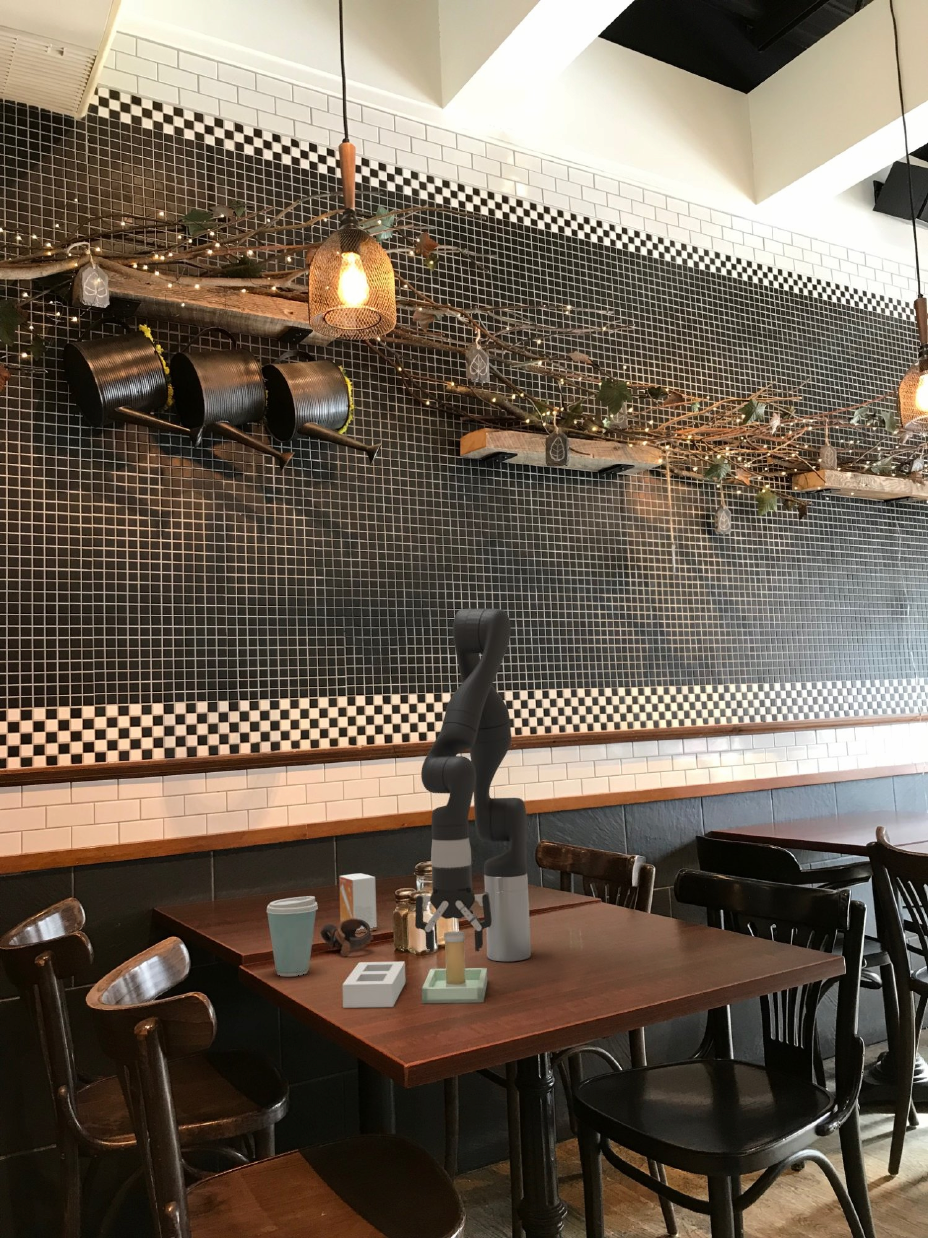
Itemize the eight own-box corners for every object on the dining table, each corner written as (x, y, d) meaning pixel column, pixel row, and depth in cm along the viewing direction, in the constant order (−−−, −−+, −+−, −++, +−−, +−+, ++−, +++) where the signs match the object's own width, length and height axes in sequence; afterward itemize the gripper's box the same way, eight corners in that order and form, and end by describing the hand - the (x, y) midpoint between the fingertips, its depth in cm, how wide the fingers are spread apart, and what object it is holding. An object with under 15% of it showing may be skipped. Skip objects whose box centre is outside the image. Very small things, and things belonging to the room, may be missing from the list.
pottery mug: (374, 948, 224) (378, 919, 220) (363, 977, 215) (367, 947, 212) (323, 935, 225) (327, 906, 222) (310, 963, 216) (314, 933, 213)
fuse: (446, 986, 185) (445, 931, 186) (467, 985, 185) (465, 931, 186) (444, 991, 181) (443, 936, 182) (465, 991, 181) (463, 935, 182)
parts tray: (431, 982, 190) (430, 969, 191) (487, 981, 190) (487, 968, 190) (422, 1003, 176) (421, 989, 177) (483, 1002, 176) (482, 988, 176)
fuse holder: (359, 983, 191) (359, 962, 192) (405, 982, 191) (404, 961, 191) (343, 1008, 176) (342, 984, 176) (392, 1007, 175) (392, 984, 175)
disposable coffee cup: (259, 980, 197) (258, 903, 198) (276, 966, 208) (275, 894, 209) (310, 980, 196) (309, 903, 197) (325, 966, 206) (323, 893, 208)
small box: (339, 929, 243) (338, 875, 244) (363, 926, 246) (361, 872, 247) (353, 935, 236) (352, 879, 237) (377, 931, 239) (376, 876, 240)
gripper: (490, 859, 189) (493, 945, 187) (416, 861, 190) (419, 947, 188) (488, 865, 181) (491, 955, 179) (411, 867, 182) (414, 957, 181)
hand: (454, 951), depth 184 cm, fingers open, 8 cm apart
